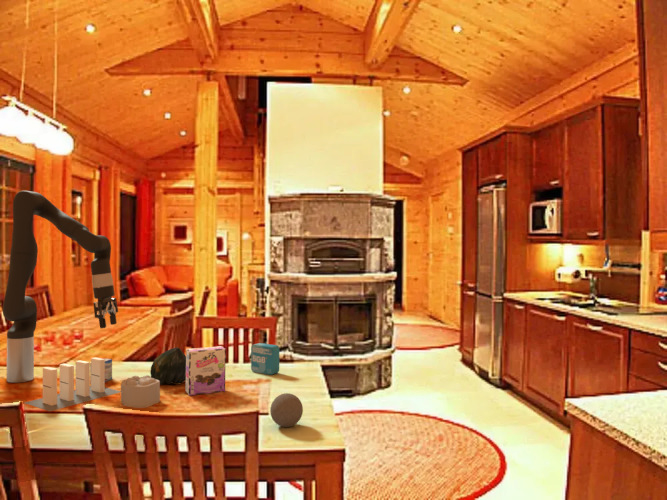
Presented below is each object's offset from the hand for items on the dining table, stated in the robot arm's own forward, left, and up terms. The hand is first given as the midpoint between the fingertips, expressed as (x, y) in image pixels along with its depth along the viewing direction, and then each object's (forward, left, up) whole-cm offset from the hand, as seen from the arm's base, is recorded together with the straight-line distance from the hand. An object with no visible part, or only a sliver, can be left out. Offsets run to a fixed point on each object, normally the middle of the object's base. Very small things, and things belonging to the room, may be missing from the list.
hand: (108, 326), depth 208 cm
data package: (+41, +48, -23) cm, 66 cm away
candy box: (+40, +13, -23) cm, 48 cm away
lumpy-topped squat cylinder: (+31, -9, -23) cm, 39 cm away
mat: (+9, -19, -22) cm, 31 cm away
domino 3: (+8, -16, -22) cm, 29 cm away
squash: (+21, +14, -23) cm, 33 cm away
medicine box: (-3, -1, -23) cm, 23 cm away
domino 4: (+8, -10, -22) cm, 26 cm away
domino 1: (+9, -28, -22) cm, 37 cm away
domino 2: (+8, -22, -22) cm, 32 cm away
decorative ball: (+87, +1, -23) cm, 90 cm away
